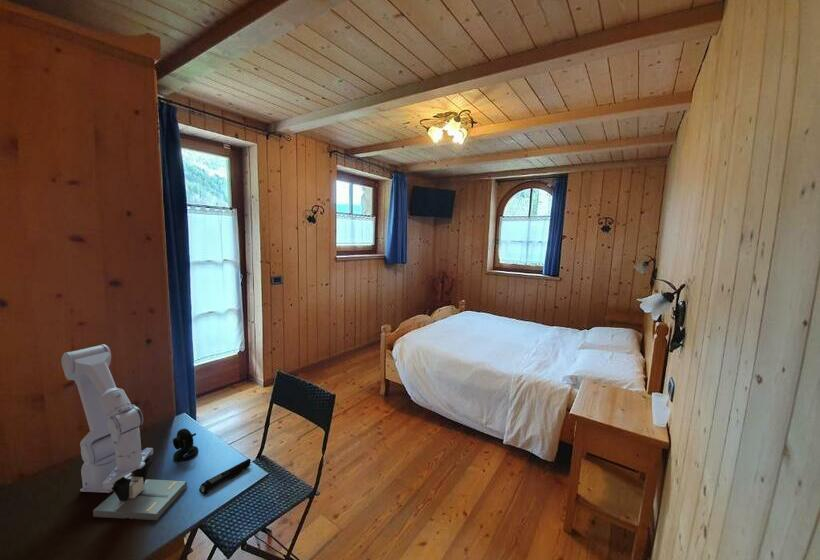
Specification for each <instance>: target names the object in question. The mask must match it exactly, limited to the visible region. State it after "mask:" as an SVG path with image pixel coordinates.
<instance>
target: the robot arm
mask: <svg viewBox="0 0 820 560" xmlns="http://www.w3.org/2000/svg"><path fill="white" fill-rule="evenodd" d="M111 359H112V351H111V349H110V347H109V346H108V345H106V344H104V343H103V344H99V345H96V346H90V347H86V348H82V349H78V350H72V351H67V352H66V351H65V352H63V355H62V356H61V360H60V361H61V368H62V370H63V372H64V374H63V375H64V377H65V378H66V380H67V381H74V383H75V385H76V387H77V390H78V393H79V396H80V400H81V404H82V407H83V411H84V413H85V418H86V421H87V425H88V428H89V432H88V433H87V434H86V435H85V436H84V437H83V438H82V439H81V441H80V443H79V447H80V455H81V459H82V461H83V462H84V463H83V464H82V466H81V470H80V472H81V481H82V488H80V492H83V493H84V492H86V493H107V494H110V493H111V492H113V493H114V492H115V493H116V495H117V496H118V498H119V500H120V501H127V500H128V498H129V485H130V482H131V479H128V478H129V477H132V474H133V477H143V483H144V484H145V480H146V479H147V474H148V472H149V469H150V466H151V465H152V463H153V459H152V458H148V457H149V456H152V455H154V448H153V447H146V448H145V449H143V450H142V443H141V431H140V426H143V423H144V415H143V412H142V410H141V409H140V408H139V406H136V404H134V403H133V404H132V403H131V401H130V398H129V397H128V396H127V394H126V392H125V390H124V389H123V388H119V387H117V385H116V382H115V380H114V377H113V374H112V372H111V371H110V368H109V366H110V365H111V362H112V361H111Z"/></svg>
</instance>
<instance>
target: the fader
mask: <svg viewBox="0 0 820 560" xmlns="http://www.w3.org/2000/svg"><path fill="white" fill-rule="evenodd" d="M127 479H131V482H130V485H129V498H135V497H136V496H137V495H138V494H139V493H140V492H141V491H142V490H144V483H143V477H134V476H129V477H128V478H127Z"/></svg>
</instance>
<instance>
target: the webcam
mask: <svg viewBox="0 0 820 560" xmlns="http://www.w3.org/2000/svg"><path fill="white" fill-rule="evenodd" d="M196 435H197V433H192V432H191V431H190V430H189V429H187V428H181V429H179V430H178V431H177V433H176V437H174V438H173V439H172V444H173V445H172V446H173V447H174V449H176V451H175V452H174V453H173V456H172V459H173V461H175V462H177V463H178V462H179V463H181V462H186V461H189V460H192V459H193V458H194V457H196V456H197V454H198V453H199V448H198V446H195V445H194V437H195V436H196ZM191 452H192V453H191ZM188 453H189V454H188ZM190 453H191V454H190ZM187 454H188V455H187Z"/></svg>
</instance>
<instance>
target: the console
mask: <svg viewBox="0 0 820 560" xmlns="http://www.w3.org/2000/svg"><path fill="white" fill-rule="evenodd" d="M187 482H188V481H187V480H169V479H168V480H166V479H149V478H148V479H147V478H146V480H145V484H144V490H142V491H141V492H140V493H139V494H138V495H137V496H136V497H135V498H128V500H127V501H120V500H119V498H118V496H117V495H116V493H115V492H114V491H113V493H112V494H110V495H109V496H108V497H107V498H106V499H105V500H103V501H102V502H101V503H99V505H97V506H96V507H95V508H94V509H93V510H92V514H93V517H94V518H109V519H110V518H111V519H126V518H129V519H131V520H144V521H145V520H147V521H148V520H149V521H158V519H159V518H160V517H162V515H163V514H164V513H165V512H166V511H167V509H168V508H170V506H171V505H172V504H173V503H174V502H175V501H176V500H177V499H178V498H179V496H180V495H181V494H182V493H183V492H184V491H185V490H186V489H187V487H188V483H187ZM134 518H135V519H134Z"/></svg>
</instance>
